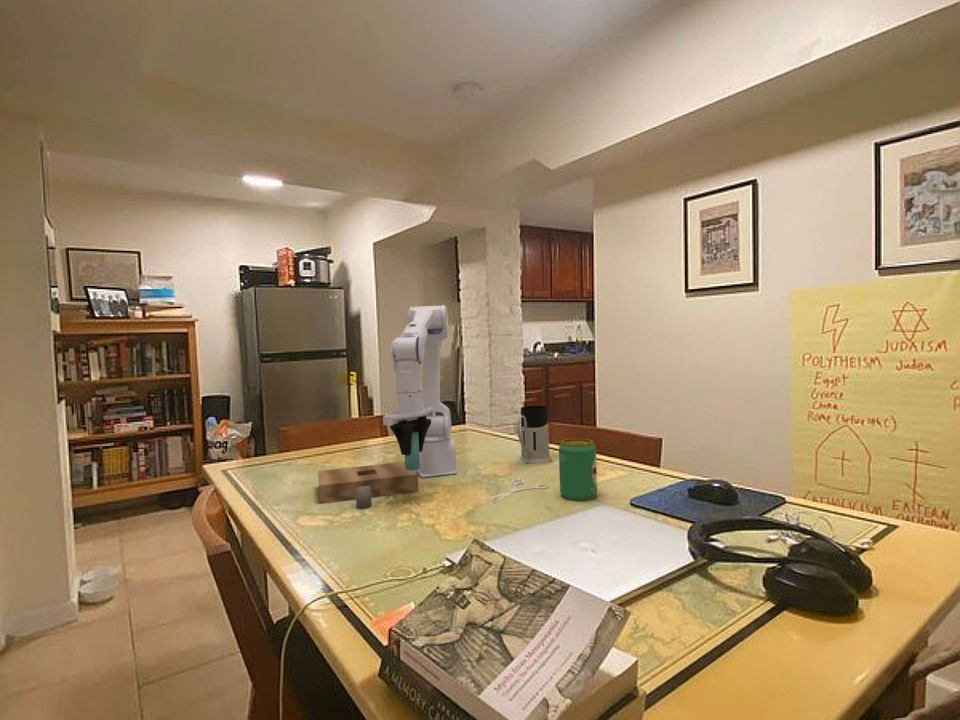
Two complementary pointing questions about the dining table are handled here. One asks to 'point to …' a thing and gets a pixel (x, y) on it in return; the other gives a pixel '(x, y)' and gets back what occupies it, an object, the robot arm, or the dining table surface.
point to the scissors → (517, 489)
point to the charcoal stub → (363, 497)
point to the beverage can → (578, 469)
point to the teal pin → (413, 454)
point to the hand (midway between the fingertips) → (412, 453)
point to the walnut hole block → (366, 481)
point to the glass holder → (534, 434)
